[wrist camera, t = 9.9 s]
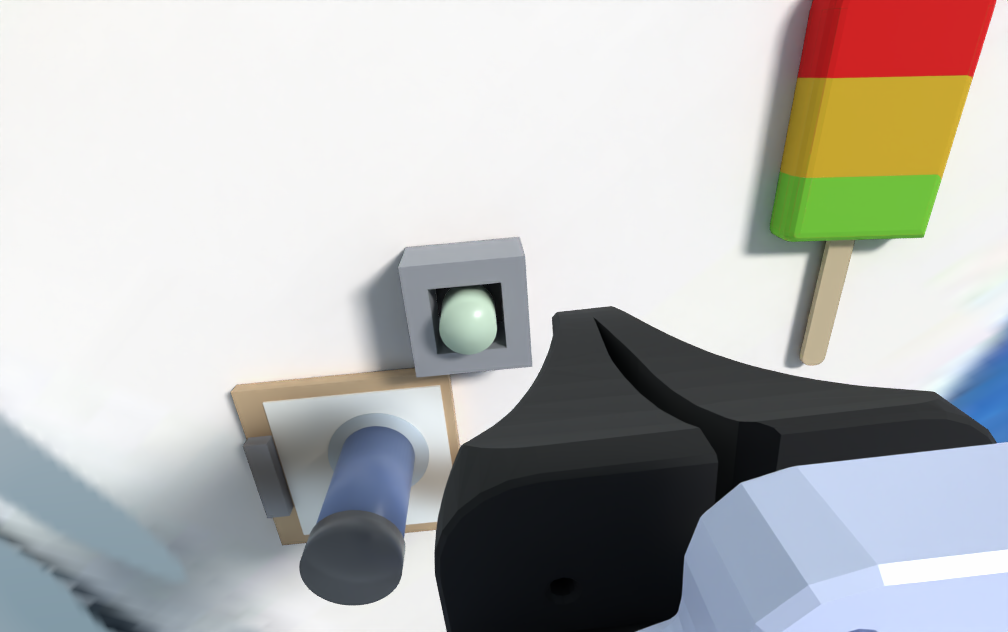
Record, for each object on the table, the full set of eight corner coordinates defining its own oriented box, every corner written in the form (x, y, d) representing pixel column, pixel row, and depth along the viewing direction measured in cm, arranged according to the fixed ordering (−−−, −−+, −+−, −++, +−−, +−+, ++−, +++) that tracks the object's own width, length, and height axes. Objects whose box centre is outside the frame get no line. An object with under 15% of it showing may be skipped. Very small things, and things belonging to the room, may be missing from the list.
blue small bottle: (422, 482, 24) (408, 599, 19) (347, 490, 24) (311, 610, 19) (411, 420, 23) (393, 527, 18) (331, 428, 23) (288, 538, 17)
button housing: (526, 338, 23) (532, 366, 20) (422, 348, 22) (416, 377, 20) (519, 236, 21) (525, 255, 19) (405, 247, 21) (398, 267, 19)
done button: (496, 327, 21) (499, 351, 19) (445, 332, 21) (442, 357, 19) (492, 279, 20) (494, 300, 18) (439, 284, 20) (435, 305, 18)
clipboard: (469, 517, 26) (469, 536, 25) (286, 535, 26) (278, 555, 25) (448, 364, 23) (447, 379, 22) (236, 384, 23) (224, 400, 22)
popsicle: (970, -41, 18) (1022, -53, 16) (858, 351, 24) (887, 373, 23) (810, -39, 18) (845, -51, 16) (738, 356, 24) (758, 378, 22)
